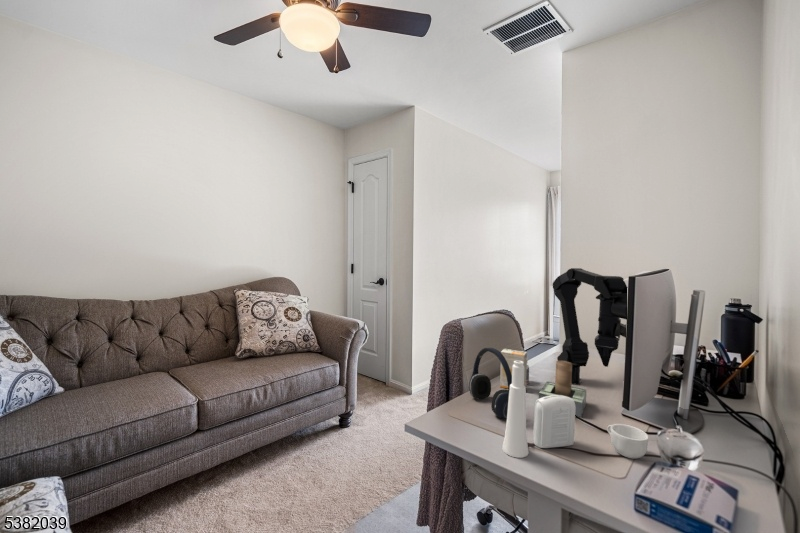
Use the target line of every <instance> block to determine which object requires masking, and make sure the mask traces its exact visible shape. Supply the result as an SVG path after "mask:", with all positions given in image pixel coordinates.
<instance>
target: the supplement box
mask: <svg viewBox="0 0 800 533" xmlns="http://www.w3.org/2000/svg"><path fill="white" fill-rule="evenodd" d="M500 352H501V353H502V354H503V356H504V357H505V359H506V361H507V363H508V365H509V368H510V371H511V375H512V366H513V365H514V361H516V360H518V361H522V362H524V364H523V366H524V368H525V369H524V386H525V387H526V388H527V384H526V373H527V365H528V352H527V351H523V350H515V349H509V348H503V349H502V350H501V351H500ZM499 373H500V377H499V378H500V381H499V383H500V385H499V387H500V388H502V389H506V390H508V382H507V377H506V374H505V371H504V368H503V366H502V363H501V362H500V372H499Z"/></svg>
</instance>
